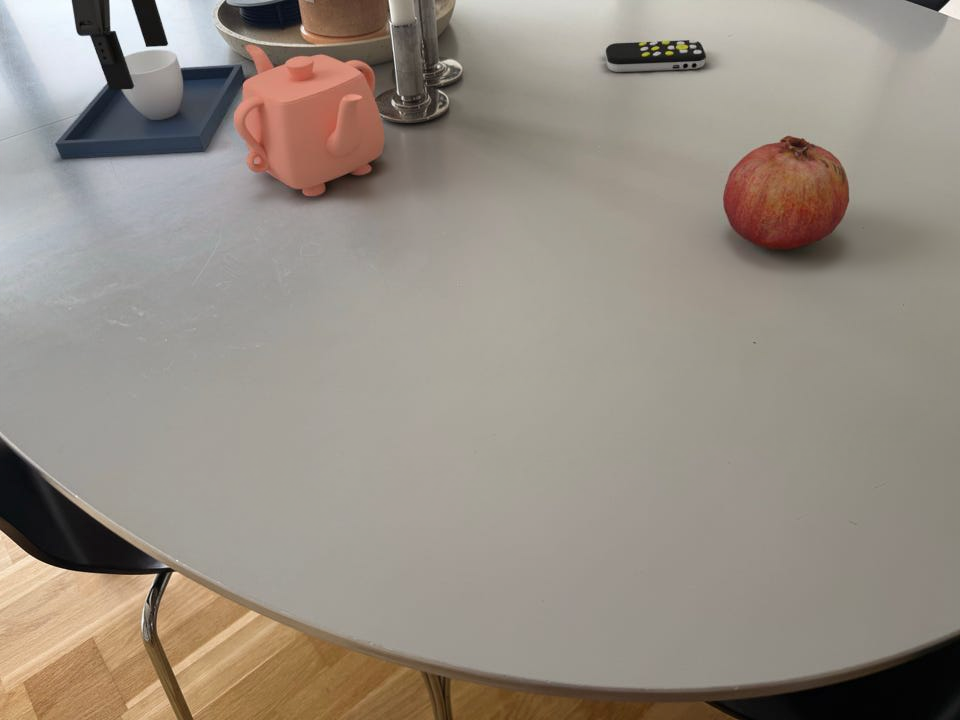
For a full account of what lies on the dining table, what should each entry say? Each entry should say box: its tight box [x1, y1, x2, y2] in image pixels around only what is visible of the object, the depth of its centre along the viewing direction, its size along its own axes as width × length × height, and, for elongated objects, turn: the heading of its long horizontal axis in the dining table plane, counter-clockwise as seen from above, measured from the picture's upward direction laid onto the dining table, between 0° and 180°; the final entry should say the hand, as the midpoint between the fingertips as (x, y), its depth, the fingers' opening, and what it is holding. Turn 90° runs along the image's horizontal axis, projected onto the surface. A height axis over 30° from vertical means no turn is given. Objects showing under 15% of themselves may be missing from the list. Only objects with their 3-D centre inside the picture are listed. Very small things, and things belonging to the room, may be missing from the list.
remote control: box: [605, 39, 707, 73], centre depth 108 cm, size 6×13×2 cm, turn 87°
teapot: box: [233, 44, 385, 197], centre depth 88 cm, size 15×17×13 cm
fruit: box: [722, 135, 850, 250], centre depth 73 cm, size 11×10×10 cm
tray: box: [54, 63, 246, 160], centre depth 106 cm, size 22×18×2 cm
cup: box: [122, 49, 183, 120], centre depth 104 cm, size 8×10×7 cm
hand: (140, 66), depth 102 cm, fingers open, 13 cm apart
